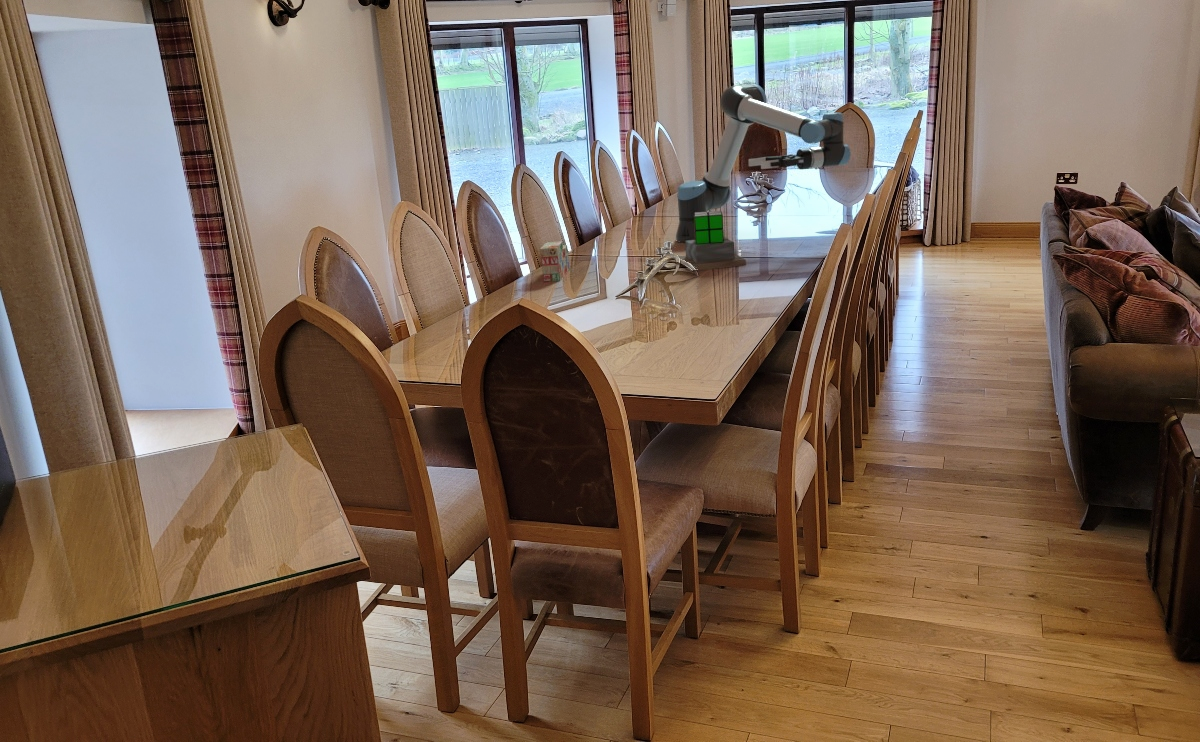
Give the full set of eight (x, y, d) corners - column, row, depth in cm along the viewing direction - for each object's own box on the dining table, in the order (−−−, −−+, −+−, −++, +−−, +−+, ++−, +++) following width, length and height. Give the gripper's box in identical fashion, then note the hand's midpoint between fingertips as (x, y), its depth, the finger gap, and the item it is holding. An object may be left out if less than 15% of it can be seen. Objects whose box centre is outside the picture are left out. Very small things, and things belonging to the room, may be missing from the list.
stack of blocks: (553, 270, 350) (550, 237, 347) (569, 269, 349) (566, 236, 346) (543, 282, 330) (539, 248, 326) (560, 281, 329) (557, 247, 325)
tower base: (676, 261, 345) (675, 240, 343) (728, 255, 348) (727, 234, 346) (691, 271, 326) (690, 248, 324) (745, 264, 329) (745, 242, 327)
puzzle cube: (722, 238, 339) (721, 210, 336) (724, 242, 330) (722, 214, 327) (695, 239, 340) (693, 212, 337) (695, 244, 331) (694, 216, 328)
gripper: (822, 171, 339) (767, 176, 336) (796, 166, 362) (744, 171, 359) (822, 149, 337) (766, 155, 333) (796, 146, 360) (743, 151, 357)
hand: (754, 164), depth 346 cm, fingers open, 13 cm apart
